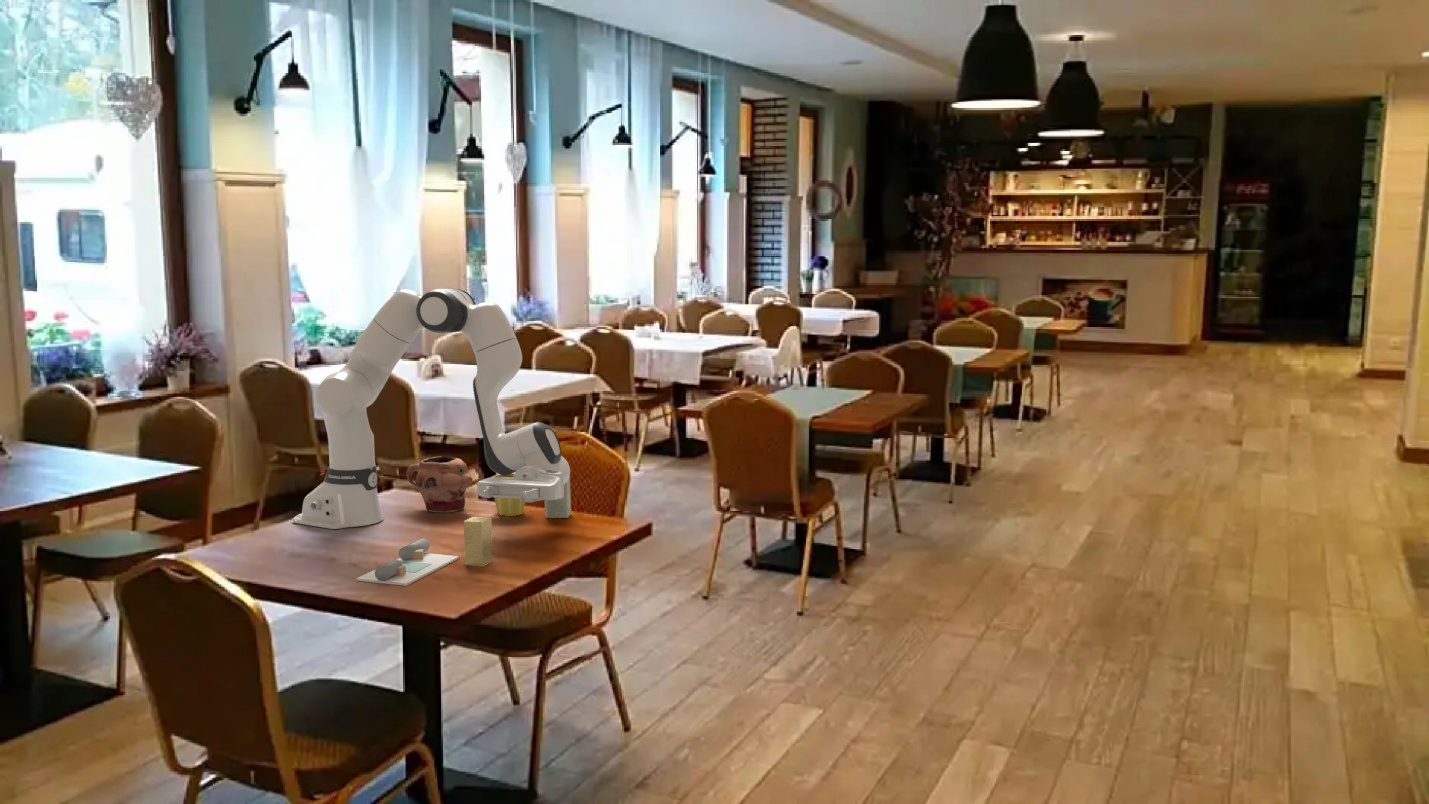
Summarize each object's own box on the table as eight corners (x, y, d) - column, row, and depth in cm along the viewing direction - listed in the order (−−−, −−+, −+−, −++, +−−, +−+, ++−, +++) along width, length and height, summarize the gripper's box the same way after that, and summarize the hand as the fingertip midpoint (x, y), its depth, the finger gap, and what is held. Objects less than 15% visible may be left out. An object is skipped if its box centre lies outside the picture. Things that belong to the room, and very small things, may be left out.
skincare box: (571, 514, 309) (570, 469, 307) (567, 518, 305) (567, 472, 303) (547, 513, 310) (547, 468, 308) (543, 517, 305) (543, 471, 304)
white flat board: (415, 552, 271) (415, 537, 271) (461, 557, 268) (461, 542, 267) (356, 580, 250) (355, 564, 249) (406, 585, 246) (405, 569, 246)
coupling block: (465, 564, 262) (463, 521, 260) (474, 559, 266) (473, 516, 264) (482, 566, 260) (481, 522, 259) (492, 561, 265) (491, 518, 263)
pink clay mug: (394, 512, 311) (392, 460, 309) (417, 502, 322) (415, 452, 321) (463, 517, 306) (461, 464, 304) (484, 506, 317) (482, 456, 315)
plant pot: (530, 508, 316) (529, 472, 315) (531, 517, 306) (530, 480, 305) (491, 509, 314) (490, 473, 313) (490, 518, 304) (489, 481, 303)
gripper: (492, 468, 288) (463, 480, 275) (568, 472, 282) (543, 484, 269) (493, 494, 289) (465, 506, 276) (569, 498, 283) (544, 511, 270)
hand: (504, 495), depth 273 cm, fingers open, 8 cm apart
